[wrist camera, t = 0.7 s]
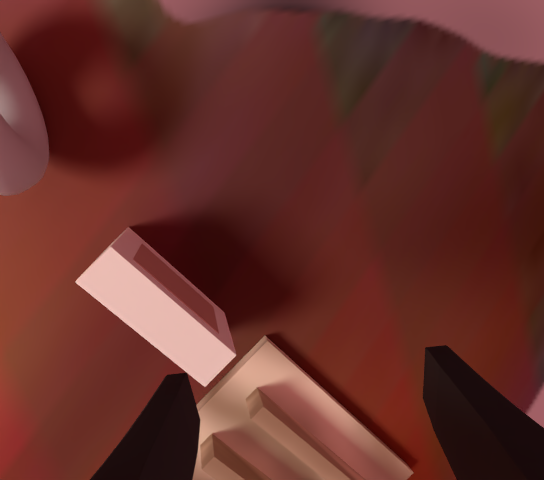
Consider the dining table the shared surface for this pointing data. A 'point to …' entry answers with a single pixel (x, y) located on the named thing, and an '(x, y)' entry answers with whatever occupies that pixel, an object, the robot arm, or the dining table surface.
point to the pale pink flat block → (161, 306)
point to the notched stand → (284, 428)
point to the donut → (19, 128)
